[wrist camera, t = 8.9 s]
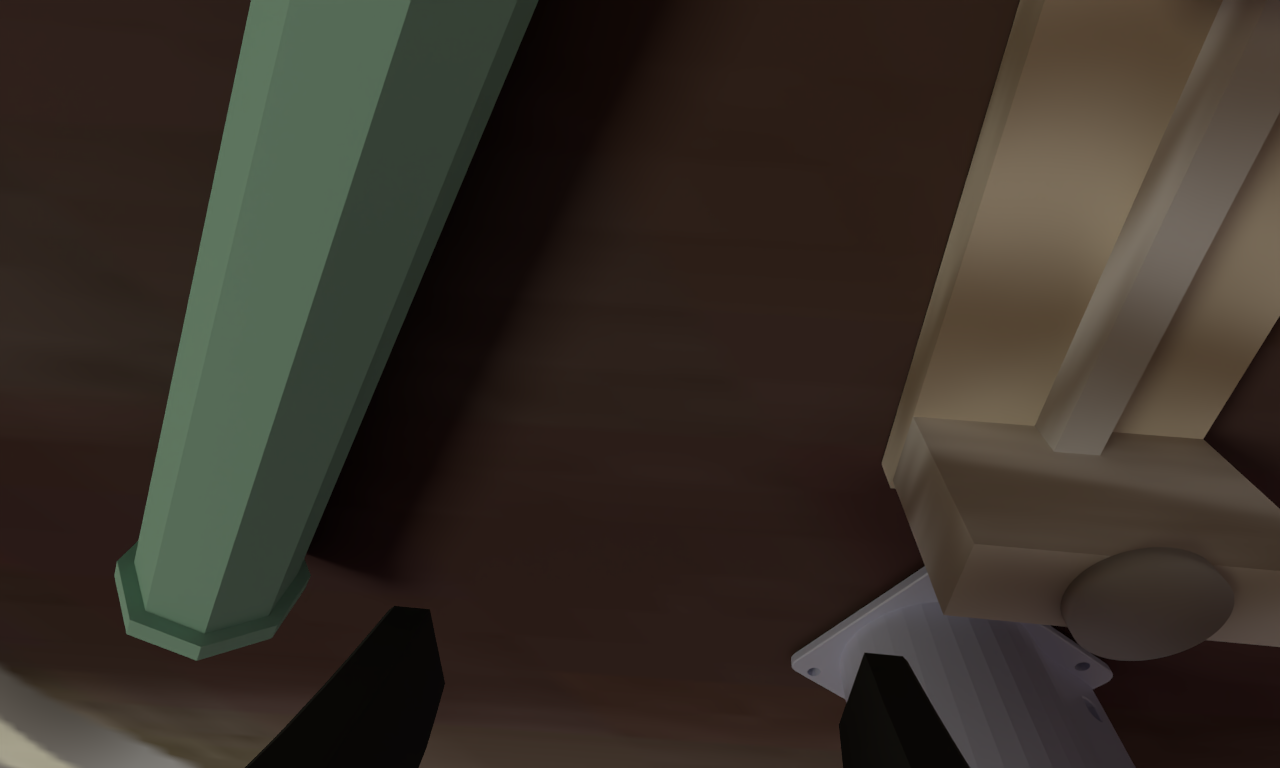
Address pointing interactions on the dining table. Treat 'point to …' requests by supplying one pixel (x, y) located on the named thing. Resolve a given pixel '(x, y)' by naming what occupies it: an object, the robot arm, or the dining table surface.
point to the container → (303, 292)
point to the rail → (1105, 333)
